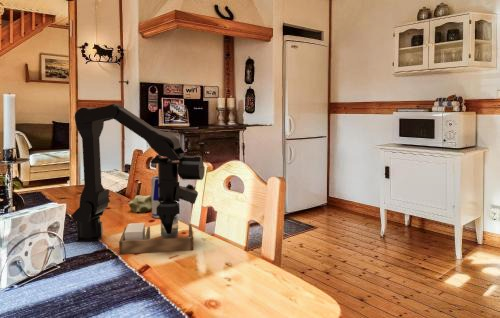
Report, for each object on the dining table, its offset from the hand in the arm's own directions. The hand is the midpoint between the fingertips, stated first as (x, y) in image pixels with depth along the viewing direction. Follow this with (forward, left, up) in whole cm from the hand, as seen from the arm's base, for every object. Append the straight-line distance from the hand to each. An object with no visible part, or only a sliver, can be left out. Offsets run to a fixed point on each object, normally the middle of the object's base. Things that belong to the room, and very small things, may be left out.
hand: (169, 230), depth 120 cm
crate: (-3, -1, -4) cm, 5 cm away
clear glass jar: (0, 0, -2) cm, 2 cm away
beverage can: (-4, +30, -4) cm, 31 cm away
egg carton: (-10, -1, -4) cm, 10 cm away
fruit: (-11, +40, -4) cm, 42 cm away
